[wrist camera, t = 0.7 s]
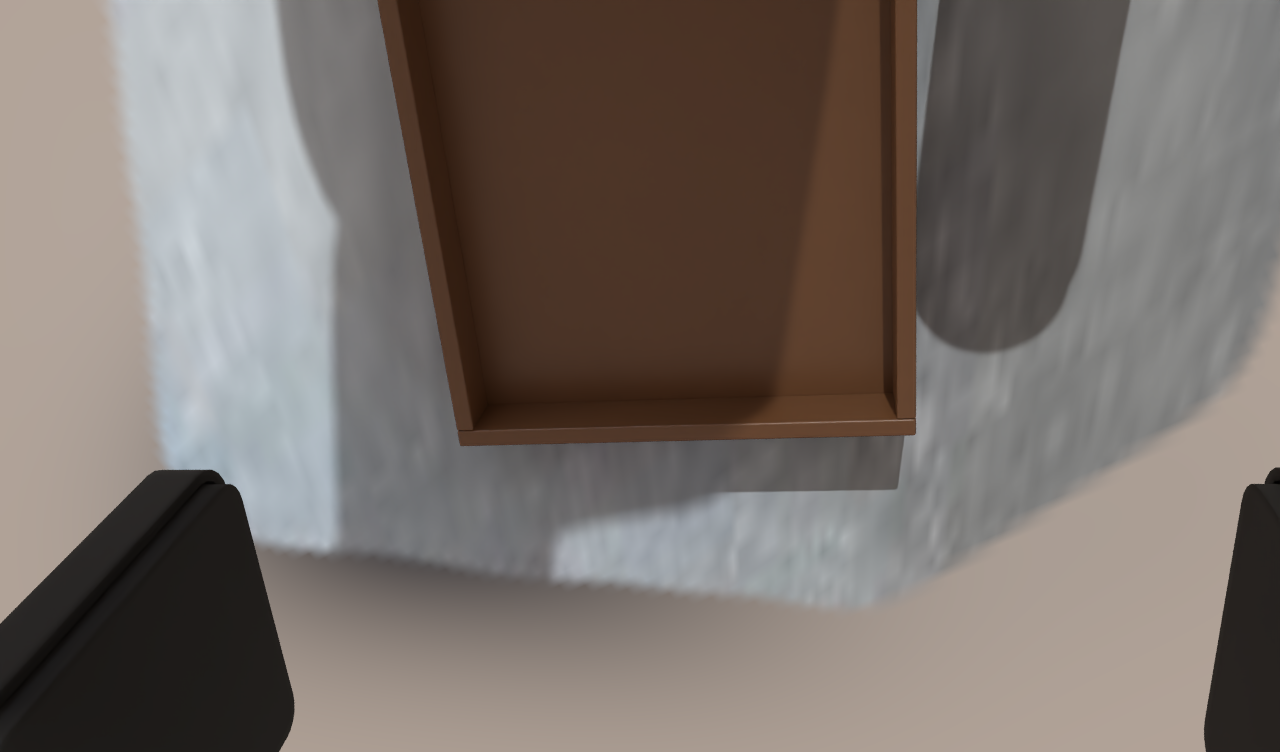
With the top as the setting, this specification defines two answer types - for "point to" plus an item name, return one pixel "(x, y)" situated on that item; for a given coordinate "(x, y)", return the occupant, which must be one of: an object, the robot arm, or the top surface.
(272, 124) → the top surface
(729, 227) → the serving tray
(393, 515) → the top surface
